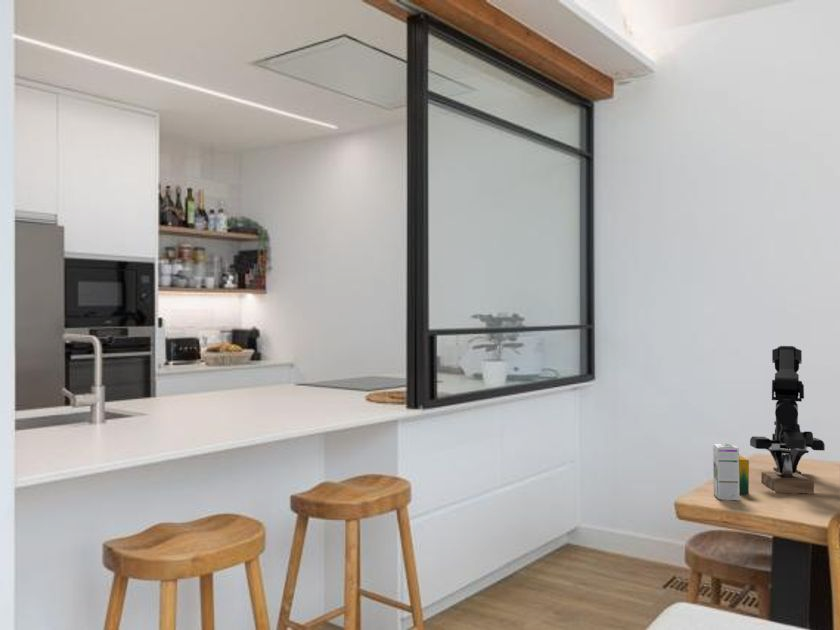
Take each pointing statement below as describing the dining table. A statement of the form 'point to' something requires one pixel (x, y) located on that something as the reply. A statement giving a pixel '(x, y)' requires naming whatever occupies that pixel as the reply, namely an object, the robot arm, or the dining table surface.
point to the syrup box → (726, 471)
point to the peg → (787, 465)
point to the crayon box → (743, 475)
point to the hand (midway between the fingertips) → (786, 472)
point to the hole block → (787, 483)
